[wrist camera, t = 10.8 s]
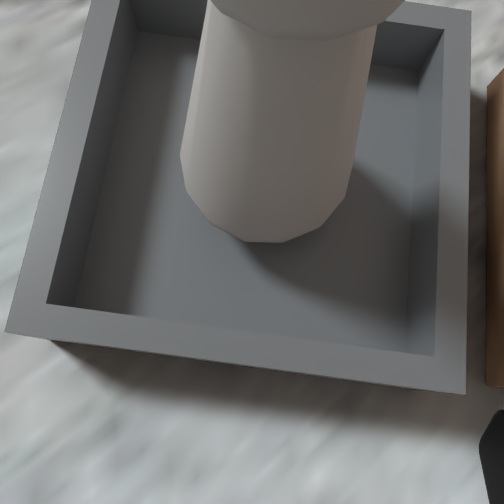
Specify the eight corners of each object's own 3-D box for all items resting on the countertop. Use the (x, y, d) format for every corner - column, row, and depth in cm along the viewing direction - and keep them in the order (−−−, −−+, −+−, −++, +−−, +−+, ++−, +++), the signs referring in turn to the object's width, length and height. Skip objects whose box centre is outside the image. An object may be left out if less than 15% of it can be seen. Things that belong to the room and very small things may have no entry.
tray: (420, 390, 17) (466, 394, 14) (48, 339, 17) (4, 331, 14) (432, 69, 21) (471, 10, 18) (123, 24, 21) (103, -43, 17)
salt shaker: (297, 100, 19) (427, -417, 7) (361, 222, 18) (668, -124, 5) (163, 151, 18) (19, -330, 6) (221, 283, 17) (198, 39, 5)
